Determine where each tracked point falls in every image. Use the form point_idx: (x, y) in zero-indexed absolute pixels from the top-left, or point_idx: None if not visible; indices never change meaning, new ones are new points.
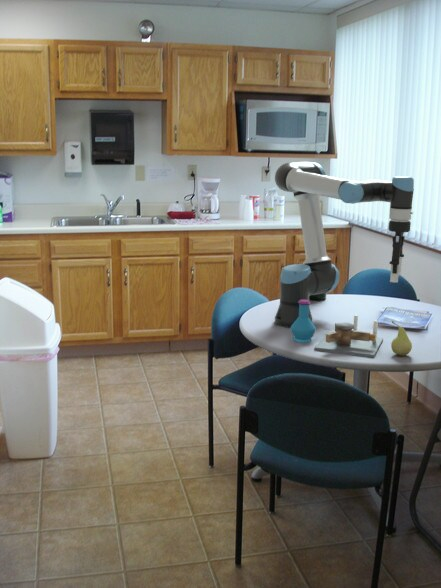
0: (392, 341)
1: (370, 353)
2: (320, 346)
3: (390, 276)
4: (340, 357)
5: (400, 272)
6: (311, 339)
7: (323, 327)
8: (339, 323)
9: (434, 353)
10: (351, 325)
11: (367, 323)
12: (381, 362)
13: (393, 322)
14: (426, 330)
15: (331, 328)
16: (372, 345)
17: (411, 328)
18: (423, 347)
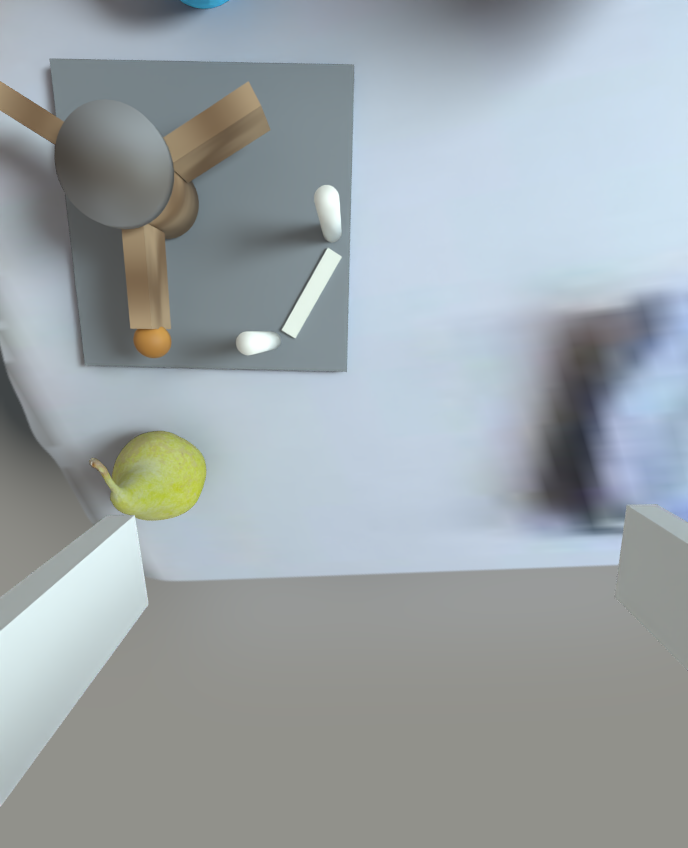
0: (142, 441)
1: (96, 347)
2: (77, 88)
3: (53, 557)
4: (21, 222)
5: (638, 620)
6: (208, 4)
7: (478, 18)
8: (130, 119)
9: (259, 574)
10: (121, 208)
11: (628, 257)
12: (50, 400)
13: (97, 468)
14: (576, 532)
15: (472, 72)
16: (214, 340)
17: (591, 471)
18: (319, 534)
